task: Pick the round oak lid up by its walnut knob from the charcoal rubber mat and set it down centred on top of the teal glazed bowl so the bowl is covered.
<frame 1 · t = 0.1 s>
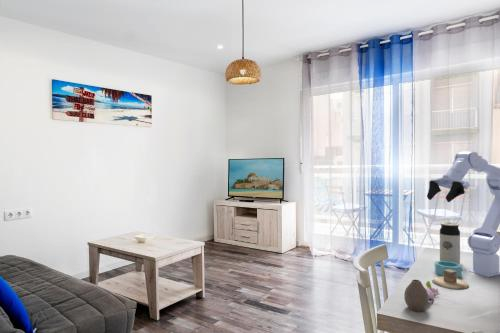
hand: (437, 199, 129), 32 cm above the table, tool tilted 50°, fingers open, 7 cm apart
mat: (450, 285, 127), on the table
travel mug: (449, 263, 156), on the table
vase: (416, 309, 107), on the table
lid: (450, 283, 127), point 1 cm above the table, touching mat
rabbit figure: (426, 299, 115), on the table
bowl: (447, 275, 139), on the table
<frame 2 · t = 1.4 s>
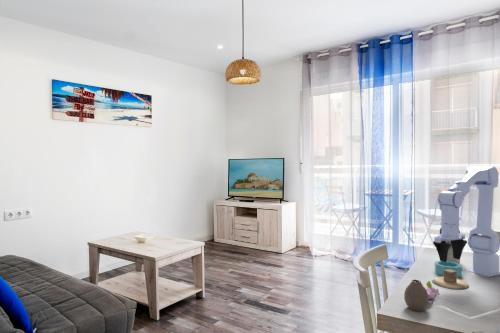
hand: (450, 260, 127), 9 cm above the table, tool pointing down, fingers open, 7 cm apart
nothing on the table moved.
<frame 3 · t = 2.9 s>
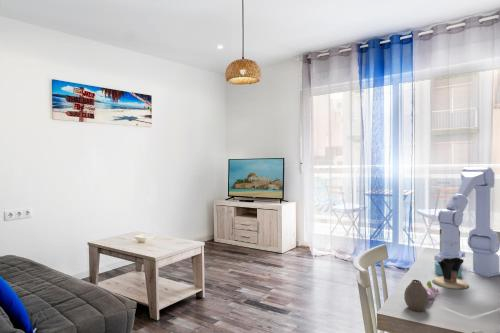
hand: (450, 278, 127), 3 cm above the table, tool pointing down, fingers closed on lid, 3 cm apart
lid: (450, 283, 127), point 1 cm above the table, touching gripper, mat
everything else where it was.
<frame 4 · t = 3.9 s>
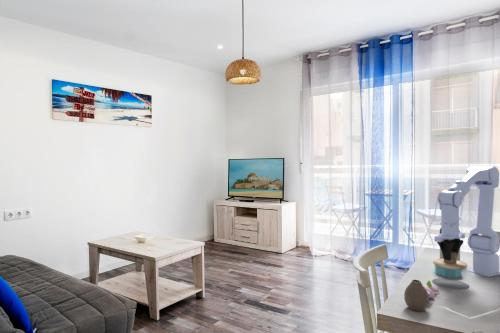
hand: (450, 259, 128), 10 cm above the table, tool pointing down, fingers closed on lid, 3 cm apart
lid: (450, 264, 128), point 7 cm above the table, touching gripper
everything else where it was.
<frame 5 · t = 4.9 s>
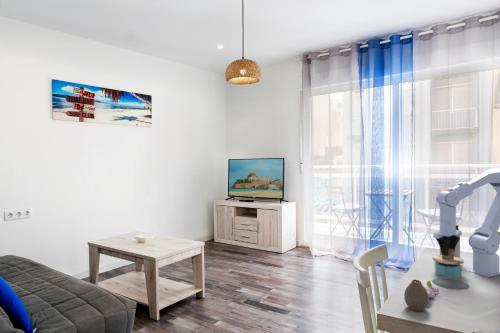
hand: (447, 254, 139), 8 cm above the table, tool pointing down, fingers closed on lid, 3 cm apart
lid: (447, 260, 139), point 6 cm above the table, touching gripper
everything else where it was.
when the fingers open (8 cm above the table, at t = 5.3 s): lid stays where it is, resting on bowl.
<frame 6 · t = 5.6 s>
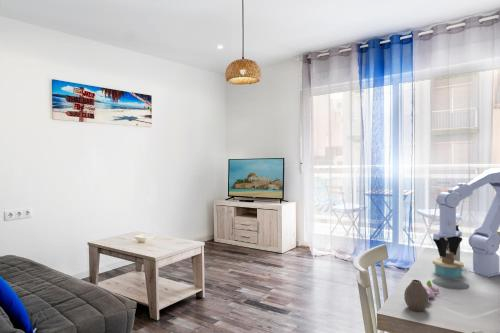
hand: (447, 255, 139), 8 cm above the table, tool pointing down, fingers open, 6 cm apart
lid: (447, 264, 139), point 4 cm above the table, touching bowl
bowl: (447, 275, 139), on the table, touching lid
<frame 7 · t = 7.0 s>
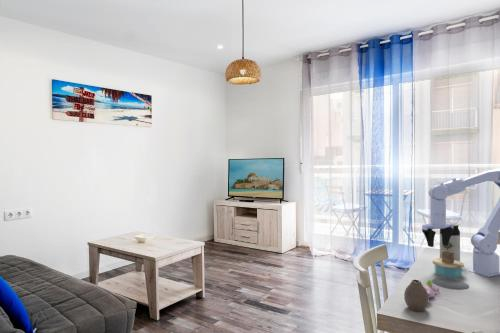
hand: (438, 245, 145), 10 cm above the table, tool pointing down, fingers open, 7 cm apart
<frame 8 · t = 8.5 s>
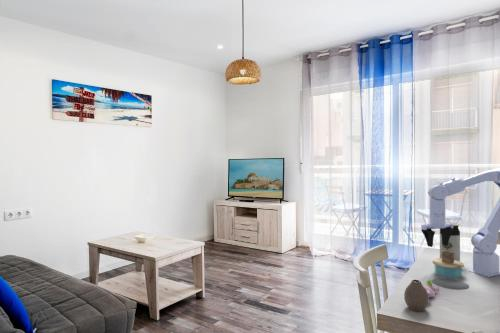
hand: (437, 245, 145), 10 cm above the table, tool pointing down, fingers open, 7 cm apart
at the end: lid 0.1 cm off-centre on the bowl, point 4.5 cm above the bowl's base; lid tilted 0°; the gripper is holding nothing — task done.
